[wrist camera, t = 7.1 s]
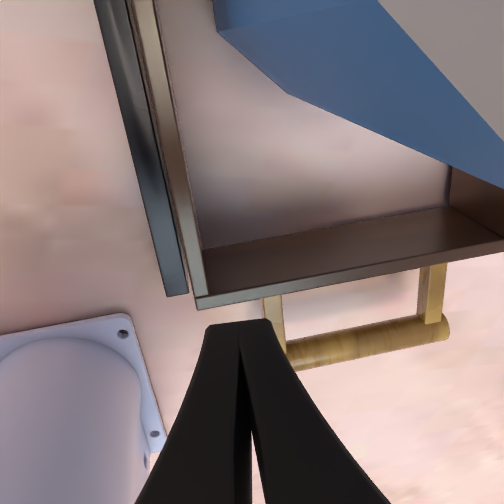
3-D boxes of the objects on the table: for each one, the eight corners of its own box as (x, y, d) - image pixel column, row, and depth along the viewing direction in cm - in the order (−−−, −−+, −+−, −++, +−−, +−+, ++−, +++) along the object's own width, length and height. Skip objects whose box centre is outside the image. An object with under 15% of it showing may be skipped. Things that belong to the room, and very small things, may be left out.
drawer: (448, 294, 23) (498, 340, 20) (208, 342, 22) (215, 401, 18) (514, -255, 14) (635, -360, 10) (92, -228, 12) (59, -338, 9)
